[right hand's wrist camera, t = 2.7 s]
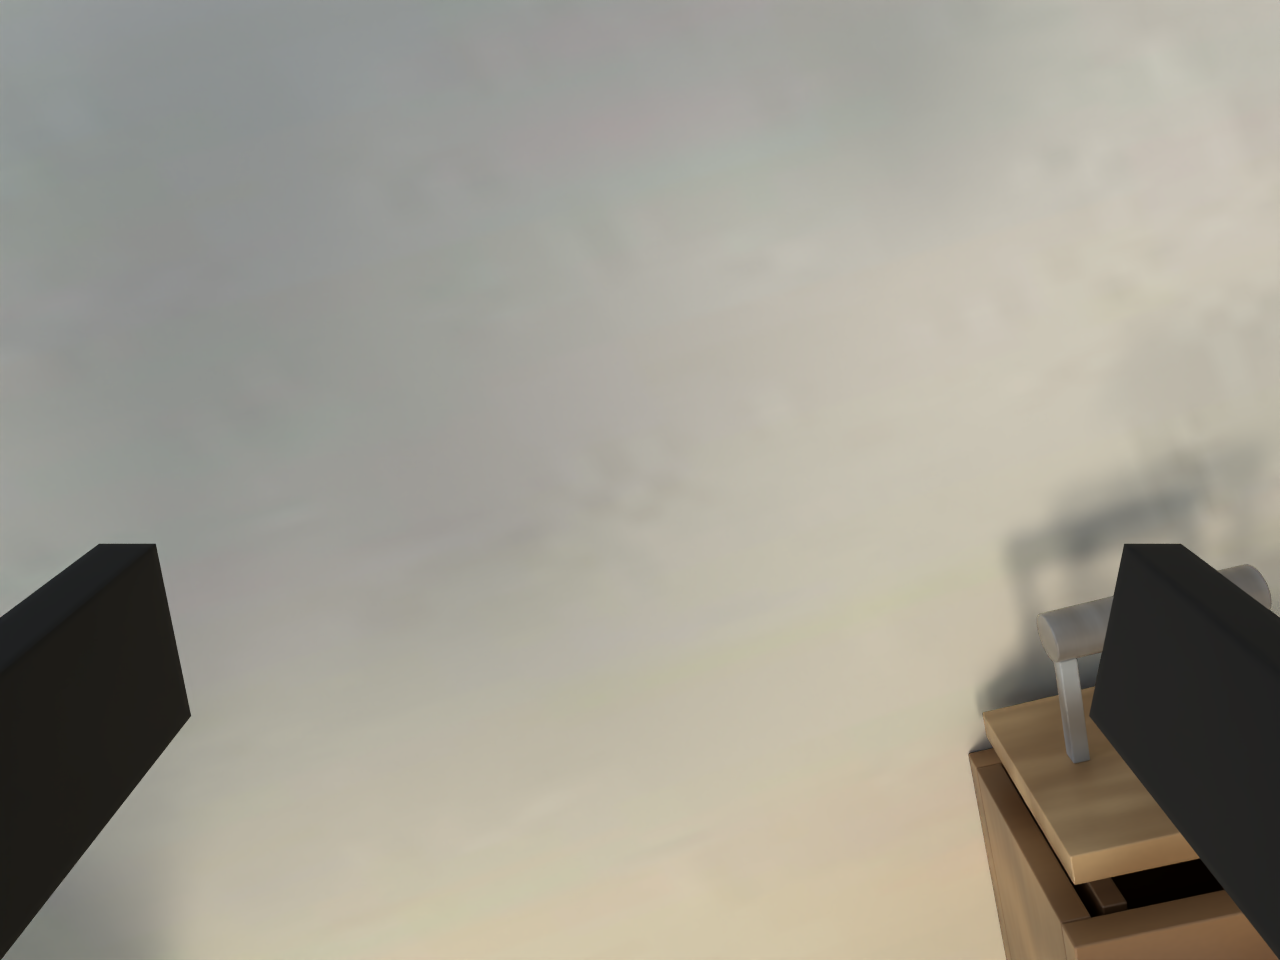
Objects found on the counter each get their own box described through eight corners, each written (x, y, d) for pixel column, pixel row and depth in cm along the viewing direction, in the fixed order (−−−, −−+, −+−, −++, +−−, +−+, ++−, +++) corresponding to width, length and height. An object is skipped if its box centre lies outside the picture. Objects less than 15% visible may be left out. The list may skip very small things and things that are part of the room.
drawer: (959, 580, 33) (1047, 700, 26) (1237, 512, 33) (1408, 616, 25) (1045, 1072, 42) (1129, 1262, 35) (1266, 1028, 41) (1398, 1215, 34)
